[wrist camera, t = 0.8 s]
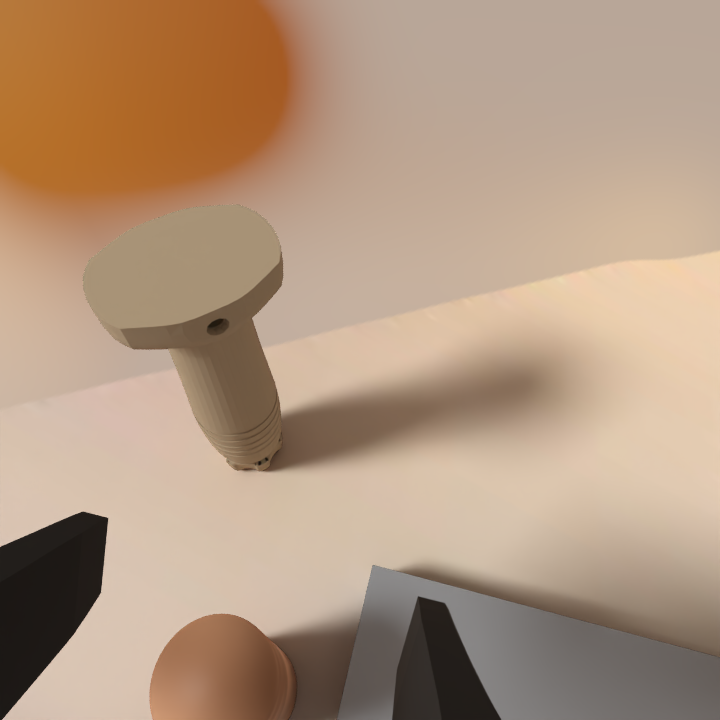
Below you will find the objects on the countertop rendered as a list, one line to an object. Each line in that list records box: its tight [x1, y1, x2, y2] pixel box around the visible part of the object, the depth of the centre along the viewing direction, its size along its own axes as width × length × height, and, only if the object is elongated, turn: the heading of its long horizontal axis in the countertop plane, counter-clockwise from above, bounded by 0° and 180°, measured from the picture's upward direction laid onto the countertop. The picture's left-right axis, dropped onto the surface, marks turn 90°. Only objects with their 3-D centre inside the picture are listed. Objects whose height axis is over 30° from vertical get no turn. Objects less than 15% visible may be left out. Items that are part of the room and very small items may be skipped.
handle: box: [83, 205, 283, 471], centre depth 24 cm, size 5×6×15 cm
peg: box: [150, 614, 297, 720], centre depth 21 cm, size 4×4×8 cm
